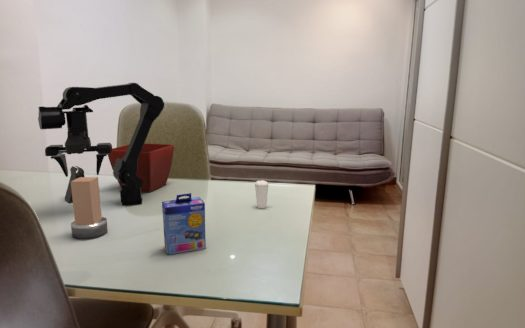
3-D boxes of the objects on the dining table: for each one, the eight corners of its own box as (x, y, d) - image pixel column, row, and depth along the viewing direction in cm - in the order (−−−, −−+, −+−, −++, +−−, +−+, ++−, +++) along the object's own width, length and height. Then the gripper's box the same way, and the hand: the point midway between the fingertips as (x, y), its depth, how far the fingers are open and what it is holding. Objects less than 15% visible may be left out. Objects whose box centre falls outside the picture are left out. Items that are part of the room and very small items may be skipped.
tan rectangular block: (101, 218, 106) (97, 177, 104) (93, 224, 102) (89, 181, 99) (84, 218, 107) (79, 177, 104) (75, 224, 102) (70, 181, 99)
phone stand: (69, 203, 133) (65, 170, 131) (64, 199, 138) (60, 167, 136) (95, 198, 139) (92, 166, 137) (90, 195, 144) (87, 164, 141)
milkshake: (269, 209, 124) (269, 180, 122) (253, 208, 125) (253, 179, 123) (272, 205, 128) (271, 177, 127) (256, 204, 130) (256, 176, 128)
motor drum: (109, 226, 110) (108, 215, 109) (105, 238, 102) (104, 225, 101) (76, 229, 108) (74, 217, 107) (68, 241, 99) (67, 229, 99)
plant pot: (151, 195, 142) (148, 151, 139) (109, 192, 147) (105, 149, 144) (177, 183, 160) (175, 144, 157) (138, 181, 165) (135, 142, 162)
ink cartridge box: (167, 256, 90) (163, 197, 87) (163, 247, 95) (159, 191, 92) (207, 248, 94) (205, 192, 91) (201, 241, 99) (199, 187, 96)
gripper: (36, 131, 109) (42, 183, 112) (105, 128, 114) (109, 179, 117) (47, 127, 120) (53, 175, 123) (110, 125, 124) (114, 171, 127)
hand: (82, 175), depth 122 cm, fingers open, 9 cm apart
